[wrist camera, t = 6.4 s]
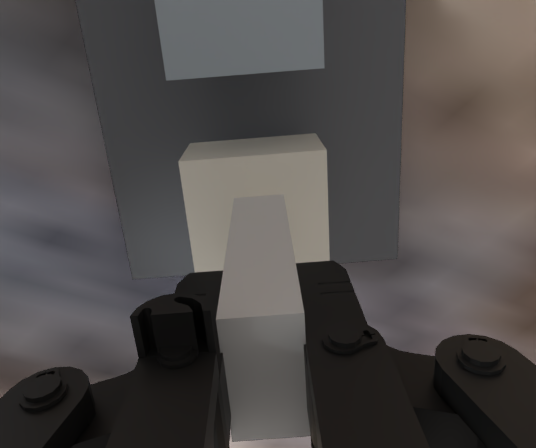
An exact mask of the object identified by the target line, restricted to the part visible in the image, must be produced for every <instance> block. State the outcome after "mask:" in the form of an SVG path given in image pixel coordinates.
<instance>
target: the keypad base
mask: <svg viewBox="0 0 536 448" xmlns="http://www.w3.org/2000/svg"><path fill="white" fill-rule="evenodd" d="M75 1H76V6H77V11H78V16H79V21H80V26H81V31H82V35H83V40H84V45H85V50H86V55H87V60H88V65H89V70H90V74H91V79H92V84H93V89H94V94H95V99H96V104H97V108H98V113H99V118H100V123H101V128H102V133H103V138H104V142H105V147H106V152H107V157H108V162H109V167H110V172H111V177H112V181H113V186H114V191H115V196H116V201H117V206H118V211H119V215H120V220H121V225H122V230H123V235H124V240H125V245H126V249H127V254H128V259H129V264H130V269H131V274H132V279H146V278H159V277H172V276H185V275H188V274H189V273H195V271H194V264H193V257H192V251H191V244H190V237H189V230H188V224H187V217H186V210H185V204H184V197H183V190H182V183H181V177H180V170H179V163H178V161H179V160H180V158H181V156H182V155H183V153H184V152H185V150H186V149H187V147H188V146H189V144H190V143H198V142H210V141H223V140H236V139H248V138H261V137H274V136H286V135H299V134H312V133H316V134H317V136H318V138H319V139H320V141H321V142H322V144H323V145H324V147H325V148H326V150H327V178H328V215H329V252H330V261H332V260H334V261H335V262H336V263H351V262H364V261H377V260H389V259H397V257H398V227H399V196H400V166H401V136H402V105H403V75H404V45H405V14H406V0H323V31H324V68H320V69H307V70H295V71H282V72H269V73H257V74H244V75H231V76H219V77H206V78H194V79H181V80H168V81H166V76H165V69H164V62H163V56H162V49H161V42H160V35H159V29H158V22H157V15H156V8H155V2H154V0H75Z"/></svg>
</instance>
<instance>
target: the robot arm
mask: <svg viewBox="0 0 536 448" xmlns="http://www.w3.org/2000/svg"><path fill="white" fill-rule="evenodd" d="M130 319H131V324H132V328H133V333H134V338H135V342H136V347H137V352H138V356H139V359H138V362H137V364H136V367H135V369H134V370H132V371H131V372H129V373H126V374H124V375H121V376H118V377H115V378H112V379H109V380H105V381H102V382H98V383H95V384H91V385H90V382H89V379H88V376H87V375H86V374H85V373H84V372H83V371H82V370H80V369H76V368H73V367H55V368H51V369H48V370H43V371H40V372H38V373H36V374H34V375H32V376H30V377H27V378H25V379H23V380H22V381H20V382H19V383H18V384H17V385H15V386H14V387H13V388H11V389H10V390H9V391H8V392H7V393H6V394H5V395H4V396H3V397H1V398H0V448H229V439H230V428H231V436H232V442H236V441H249V440H263V439H276V438H290V437H303V436H311V447H312V448H536V365H535V364H533V363H532V362H531V361H530V360H528V359H527V358H526V357H524V356H523V355H522V354H521V353H519V352H518V351H517V350H515V349H514V348H512V347H510V346H508V345H507V344H505V343H503V342H501V341H498V340H495V339H492V338H489V337H486V336H480V335H471V334H467V335H457V336H452V337H450V338H447V339H445V340H443V341H442V342H441V343H440V344H439V345H438V346H437V348H436V353H435V356H428V355H421V354H414V353H409V352H404V351H399V350H397V349H394V348H391V347H389V346H387V345H386V343H385V341H384V339H383V337H382V336H381V335H380V334H379V332H378V331H377V330H375V329H374V328H372V327H370V326H368V325H367V322H366V319H365V317H364V314H363V312H362V309H361V307H360V304H359V302H358V299H357V296H356V294H355V293H354V289H353V286H352V284H351V283H350V279H349V276H348V274H347V271H346V269H345V268H343V267H342V266H341V265H339V264H338V263H336V262H335V261H334V260H332V261H319V262H306V263H296V262H295V256H294V251H293V245H292V239H291V234H290V228H289V222H288V217H287V211H286V205H285V199H284V194H280V195H267V196H254V197H241V198H234V201H233V208H232V215H231V221H230V228H229V235H228V242H227V248H226V255H225V262H224V268H223V270H221V271H208V272H195V273H189V274H188V275H187V276H186V277H185V278H184V279H183V280H181V281H180V282H179V283H178V285H177V288H176V291H175V294H169V295H163V296H160V297H157V298H155V299H152V300H149V301H147V302H146V303H144V304H142V305H141V306H139V307H138V308H136V310H135V311H134V312H133V314H132V315H131V316H130Z"/></svg>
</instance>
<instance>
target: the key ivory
mask: <svg viewBox="0 0 536 448" xmlns="http://www.w3.org/2000/svg"><path fill="white" fill-rule="evenodd" d="M178 163H179V170H180V177H181V183H182V190H183V197H184V204H185V210H186V217H187V224H188V230H189V237H190V244H191V251H192V257H193V264H194V271H195V272H208V271H221V270H223V268H224V262H225V255H226V248H227V242H228V235H229V228H230V221H231V215H232V208H233V201H234V198H241V197H254V196H267V195H280V194H284V199H285V205H286V211H287V217H288V222H289V228H290V234H291V239H292V245H293V251H294V256H295V262H296V263H306V262H319V261H330V252H329V215H328V178H327V150H326V148H325V147H324V145H323V144H322V142H321V141H320V139H319V138H318V136H317V134H316V133H312V134H299V135H286V136H274V137H261V138H248V139H236V140H223V141H210V142H198V143H190V144H189V146H188V147H187V149H186V150H185V152H184V153H183V155H182V156H181V158H180V160H179V161H178Z"/></svg>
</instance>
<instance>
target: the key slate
mask: <svg viewBox="0 0 536 448" xmlns="http://www.w3.org/2000/svg"><path fill="white" fill-rule="evenodd" d="M154 2H155V8H156V15H157V22H158V29H159V35H160V42H161V49H162V56H163V62H164V69H165V76H166V81H168V80H181V79H194V78H206V77H219V76H231V75H244V74H257V73H269V72H282V71H295V70H307V69H320V68H324V31H323V0H154Z"/></svg>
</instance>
